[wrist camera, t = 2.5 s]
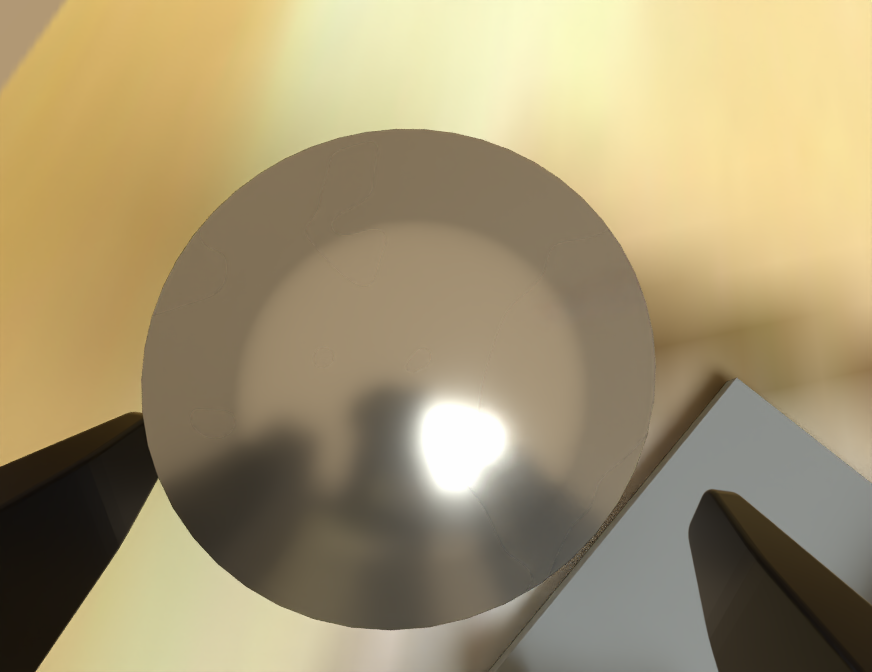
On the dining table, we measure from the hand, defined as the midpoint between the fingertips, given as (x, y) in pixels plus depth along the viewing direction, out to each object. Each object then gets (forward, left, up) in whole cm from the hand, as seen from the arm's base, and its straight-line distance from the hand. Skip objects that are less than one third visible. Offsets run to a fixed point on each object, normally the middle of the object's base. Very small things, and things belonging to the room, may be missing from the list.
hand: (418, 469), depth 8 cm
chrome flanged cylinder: (+1, +1, -9) cm, 9 cm away
